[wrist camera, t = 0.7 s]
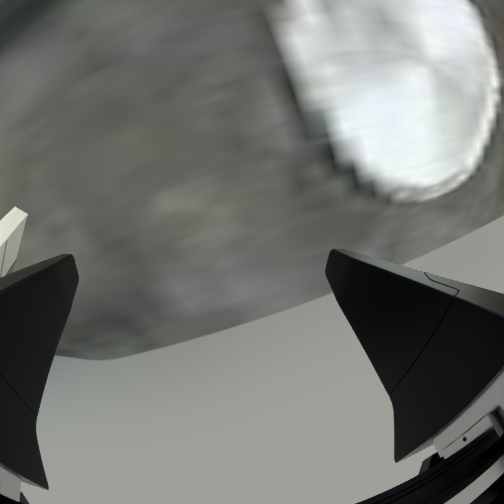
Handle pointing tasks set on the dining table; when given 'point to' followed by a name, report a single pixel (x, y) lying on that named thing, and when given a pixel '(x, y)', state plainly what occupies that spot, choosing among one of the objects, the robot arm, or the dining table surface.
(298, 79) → the dining table surface
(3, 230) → the domino
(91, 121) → the dining table surface
